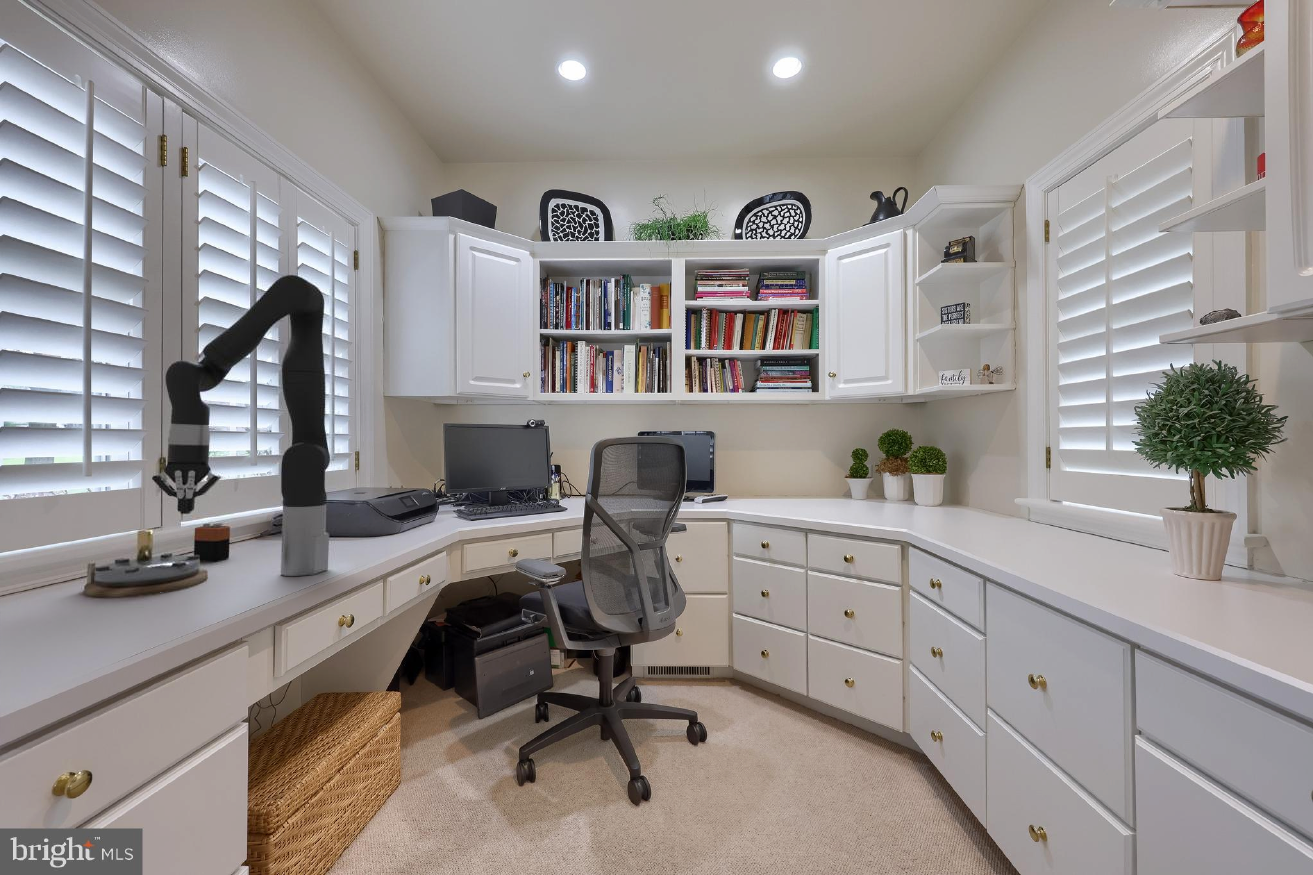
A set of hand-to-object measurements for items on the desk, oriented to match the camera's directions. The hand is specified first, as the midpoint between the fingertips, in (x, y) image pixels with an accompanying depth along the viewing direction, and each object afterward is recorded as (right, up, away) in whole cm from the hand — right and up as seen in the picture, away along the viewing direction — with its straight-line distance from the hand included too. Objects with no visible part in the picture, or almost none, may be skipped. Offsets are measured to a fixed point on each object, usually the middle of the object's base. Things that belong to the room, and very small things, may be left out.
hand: (185, 513), depth 126 cm
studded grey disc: (0, -13, -9) cm, 16 cm away
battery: (-7, -15, +16) cm, 23 cm away
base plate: (0, -15, -9) cm, 17 cm away
